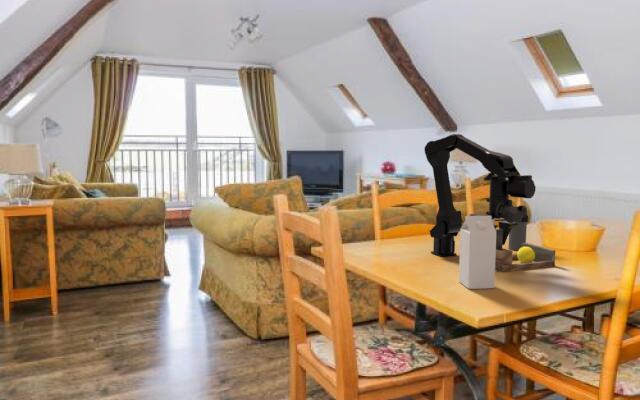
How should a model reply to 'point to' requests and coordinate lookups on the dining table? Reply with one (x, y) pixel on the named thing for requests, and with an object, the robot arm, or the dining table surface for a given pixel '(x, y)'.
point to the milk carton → (477, 252)
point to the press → (542, 259)
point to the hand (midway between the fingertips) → (497, 245)
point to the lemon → (526, 254)
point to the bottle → (517, 236)
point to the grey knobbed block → (502, 249)
